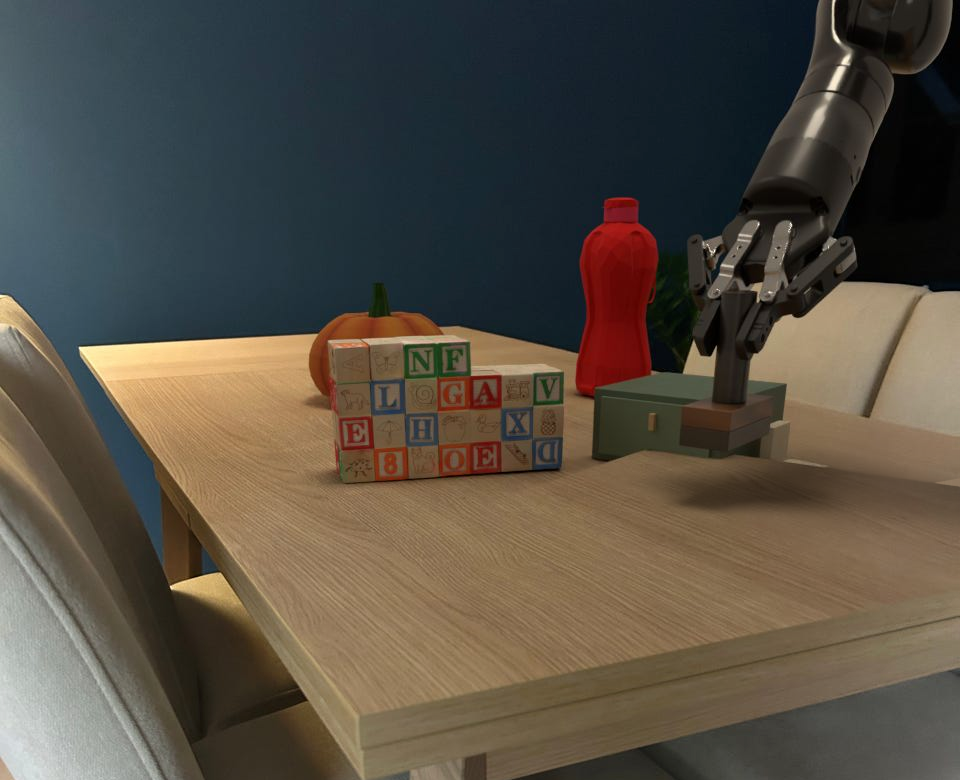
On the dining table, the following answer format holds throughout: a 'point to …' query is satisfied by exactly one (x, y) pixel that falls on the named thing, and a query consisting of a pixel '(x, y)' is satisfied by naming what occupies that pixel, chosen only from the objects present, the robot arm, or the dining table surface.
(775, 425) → the block
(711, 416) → the brush
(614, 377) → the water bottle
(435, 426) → the stack of blocks
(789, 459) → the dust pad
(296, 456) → the dining table surface
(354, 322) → the pumpkin
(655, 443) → the cabinet
